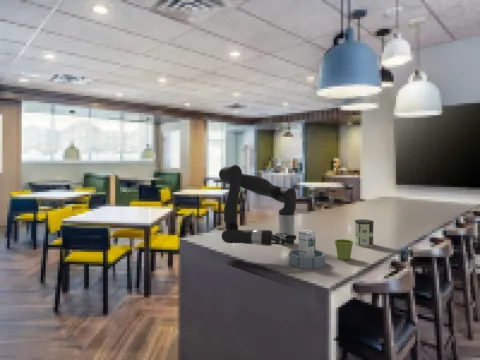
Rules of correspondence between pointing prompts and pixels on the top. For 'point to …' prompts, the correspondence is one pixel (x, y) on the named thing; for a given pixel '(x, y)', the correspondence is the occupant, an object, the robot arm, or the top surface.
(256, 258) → the top surface
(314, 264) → the bowl
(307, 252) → the syrup box
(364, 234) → the coffee can
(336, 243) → the plant pot
